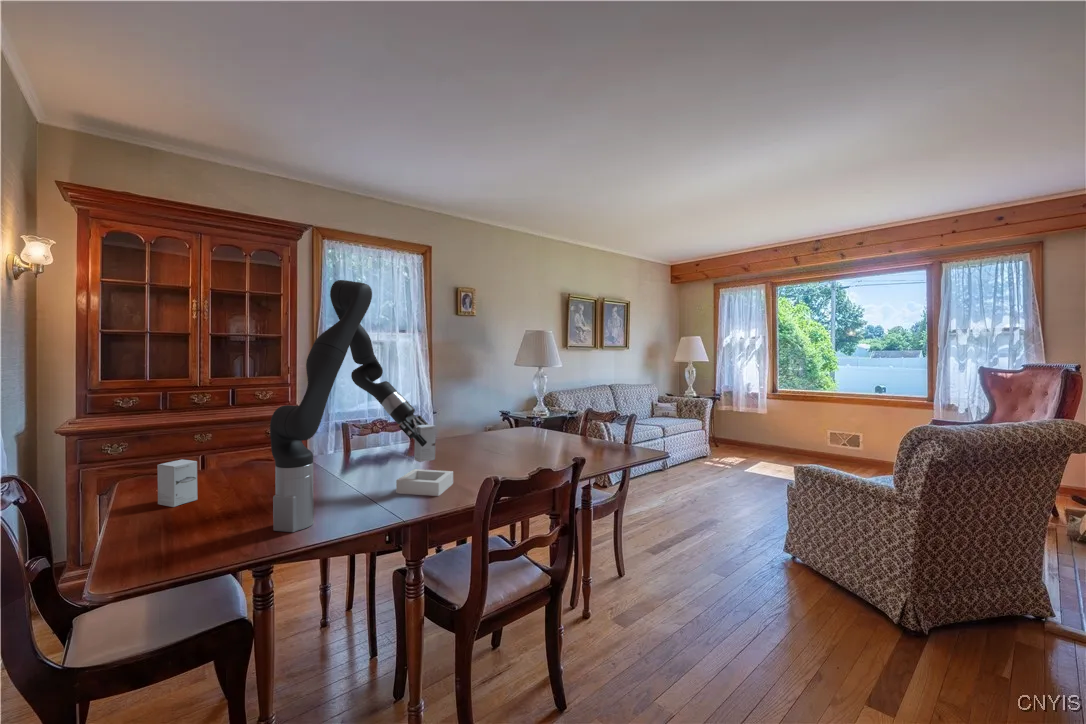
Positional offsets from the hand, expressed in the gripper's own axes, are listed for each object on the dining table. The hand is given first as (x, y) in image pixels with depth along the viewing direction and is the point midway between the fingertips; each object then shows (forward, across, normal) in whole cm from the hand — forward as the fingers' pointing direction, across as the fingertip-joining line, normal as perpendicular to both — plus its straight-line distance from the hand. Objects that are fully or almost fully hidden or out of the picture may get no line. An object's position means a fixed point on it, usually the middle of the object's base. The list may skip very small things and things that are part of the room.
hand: (429, 442), depth 162 cm
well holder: (+11, 0, +12) cm, 16 cm away
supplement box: (-38, -28, +62) cm, 78 cm away
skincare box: (+4, 0, +6) cm, 7 cm away
